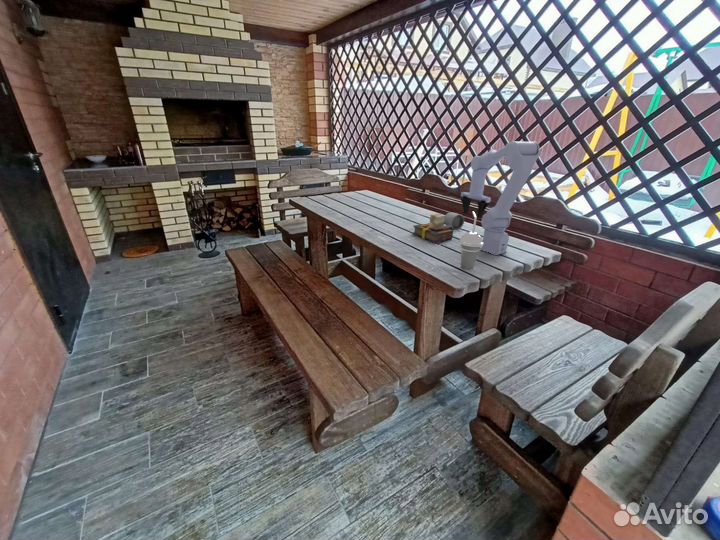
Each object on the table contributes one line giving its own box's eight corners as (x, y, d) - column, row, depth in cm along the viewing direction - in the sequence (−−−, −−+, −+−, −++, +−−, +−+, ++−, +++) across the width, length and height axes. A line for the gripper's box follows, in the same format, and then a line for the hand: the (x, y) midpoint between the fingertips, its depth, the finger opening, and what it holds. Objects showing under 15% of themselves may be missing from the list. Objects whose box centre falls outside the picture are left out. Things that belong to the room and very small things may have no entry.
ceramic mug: (453, 224, 172) (455, 210, 169) (463, 228, 166) (465, 213, 162) (436, 226, 169) (437, 212, 165) (446, 231, 162) (447, 216, 159)
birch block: (443, 228, 150) (444, 215, 148) (435, 229, 148) (437, 216, 146) (436, 225, 154) (438, 213, 151) (429, 227, 152) (430, 214, 149)
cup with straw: (451, 268, 121) (459, 215, 112) (459, 260, 127) (467, 210, 119) (475, 274, 116) (485, 219, 108) (482, 266, 123) (492, 213, 115)
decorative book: (430, 231, 162) (431, 221, 160) (454, 240, 150) (456, 230, 148) (412, 234, 157) (413, 224, 155) (436, 244, 144) (437, 234, 142)
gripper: (458, 183, 147) (454, 212, 153) (485, 188, 137) (480, 220, 142) (468, 181, 151) (464, 210, 157) (496, 186, 140) (490, 218, 146)
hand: (472, 215), depth 150 cm, fingers open, 7 cm apart
